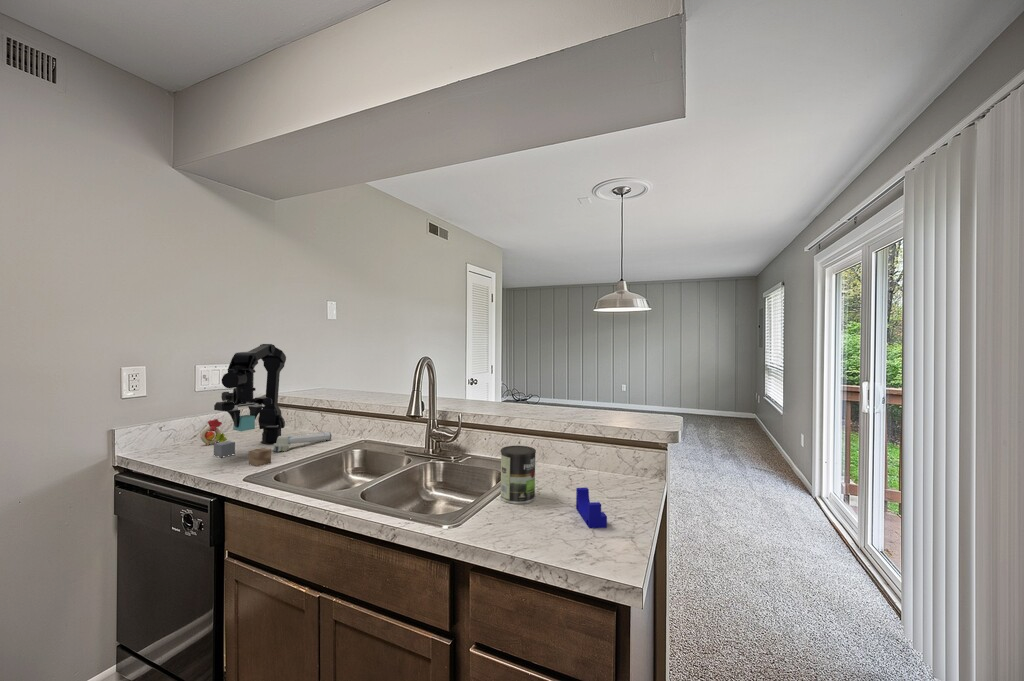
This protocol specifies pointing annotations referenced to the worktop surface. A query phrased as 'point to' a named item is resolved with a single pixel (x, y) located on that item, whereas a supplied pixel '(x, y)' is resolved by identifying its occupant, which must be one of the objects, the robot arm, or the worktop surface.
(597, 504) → the blue stepped block
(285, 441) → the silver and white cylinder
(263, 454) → the walnut block
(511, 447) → the coffee can
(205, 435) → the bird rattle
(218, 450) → the charcoal block
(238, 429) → the teal block
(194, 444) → the worktop surface
